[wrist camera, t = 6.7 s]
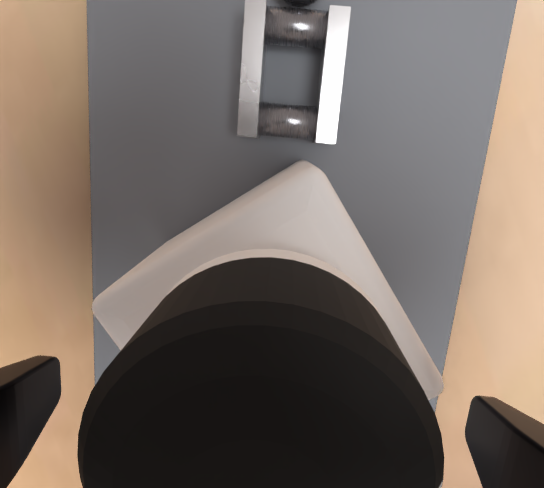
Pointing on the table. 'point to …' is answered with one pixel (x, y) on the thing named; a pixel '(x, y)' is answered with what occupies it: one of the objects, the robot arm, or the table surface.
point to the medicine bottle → (262, 358)
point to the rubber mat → (286, 151)
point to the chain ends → (300, 33)
